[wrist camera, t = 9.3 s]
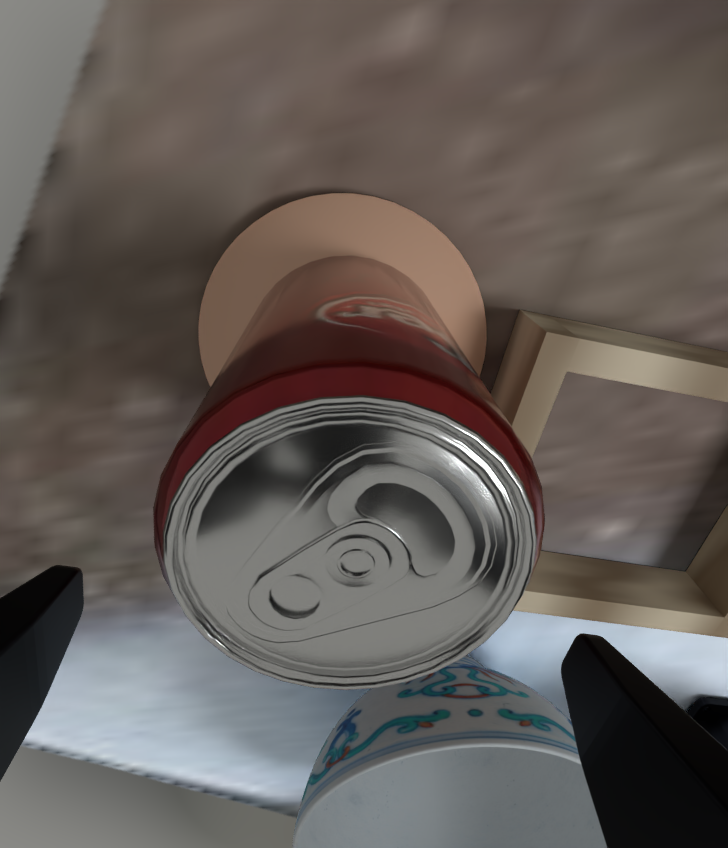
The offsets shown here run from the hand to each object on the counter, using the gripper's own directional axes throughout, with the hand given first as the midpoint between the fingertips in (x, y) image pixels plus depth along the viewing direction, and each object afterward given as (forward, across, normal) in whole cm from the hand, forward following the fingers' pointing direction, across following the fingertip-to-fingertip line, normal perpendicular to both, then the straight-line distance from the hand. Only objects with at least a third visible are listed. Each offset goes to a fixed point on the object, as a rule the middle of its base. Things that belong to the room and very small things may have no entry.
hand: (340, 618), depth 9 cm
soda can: (+12, 0, -1) cm, 13 cm away
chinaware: (+13, -9, +18) cm, 24 cm away
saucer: (+13, 0, -1) cm, 13 cm away
